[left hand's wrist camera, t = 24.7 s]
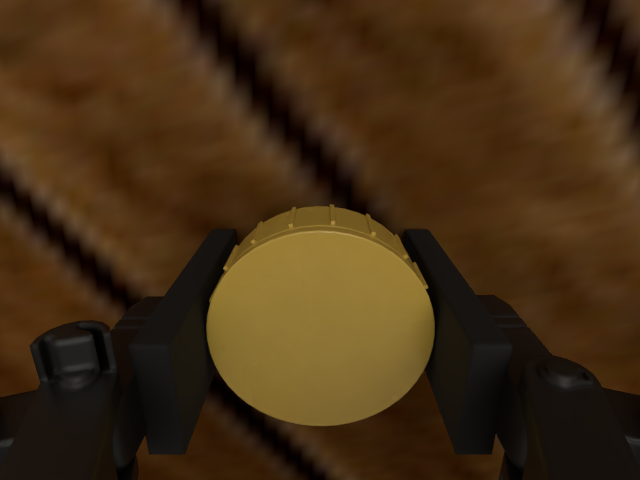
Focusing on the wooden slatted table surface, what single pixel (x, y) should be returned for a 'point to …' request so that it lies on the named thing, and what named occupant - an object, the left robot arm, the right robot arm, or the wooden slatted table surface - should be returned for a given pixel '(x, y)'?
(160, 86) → the wooden slatted table surface
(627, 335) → the wooden slatted table surface
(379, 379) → the lid
